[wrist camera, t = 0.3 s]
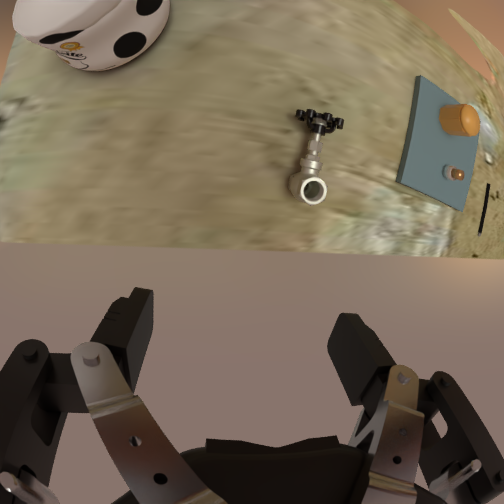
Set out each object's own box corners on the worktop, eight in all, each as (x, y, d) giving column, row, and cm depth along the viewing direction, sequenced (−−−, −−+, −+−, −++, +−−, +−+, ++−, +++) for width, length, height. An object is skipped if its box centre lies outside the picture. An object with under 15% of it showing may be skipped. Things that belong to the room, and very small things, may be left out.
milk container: (61, 80, 27) (-13, 62, 11) (91, -5, 21) (43, -49, 5) (158, 75, 30) (109, 28, 13) (187, -15, 24) (170, -84, 7)
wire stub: (443, 162, 36) (458, 165, 32) (452, 167, 37) (467, 170, 33) (440, 176, 37) (455, 179, 33) (449, 180, 38) (463, 184, 34)
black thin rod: (478, 235, 45) (481, 237, 44) (476, 235, 44) (479, 236, 44) (488, 183, 40) (491, 184, 39) (486, 182, 40) (489, 183, 39)
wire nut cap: (441, 101, 32) (464, 99, 26) (458, 114, 33) (481, 114, 27) (437, 126, 34) (461, 127, 28) (455, 138, 35) (478, 141, 29)
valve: (317, 201, 39) (334, 124, 35) (334, 212, 33) (353, 121, 29) (275, 193, 38) (291, 112, 34) (284, 202, 32) (303, 105, 28)
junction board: (416, 76, 32) (421, 75, 30) (475, 120, 35) (480, 121, 33) (395, 181, 38) (400, 182, 37) (457, 210, 41) (462, 212, 40)
